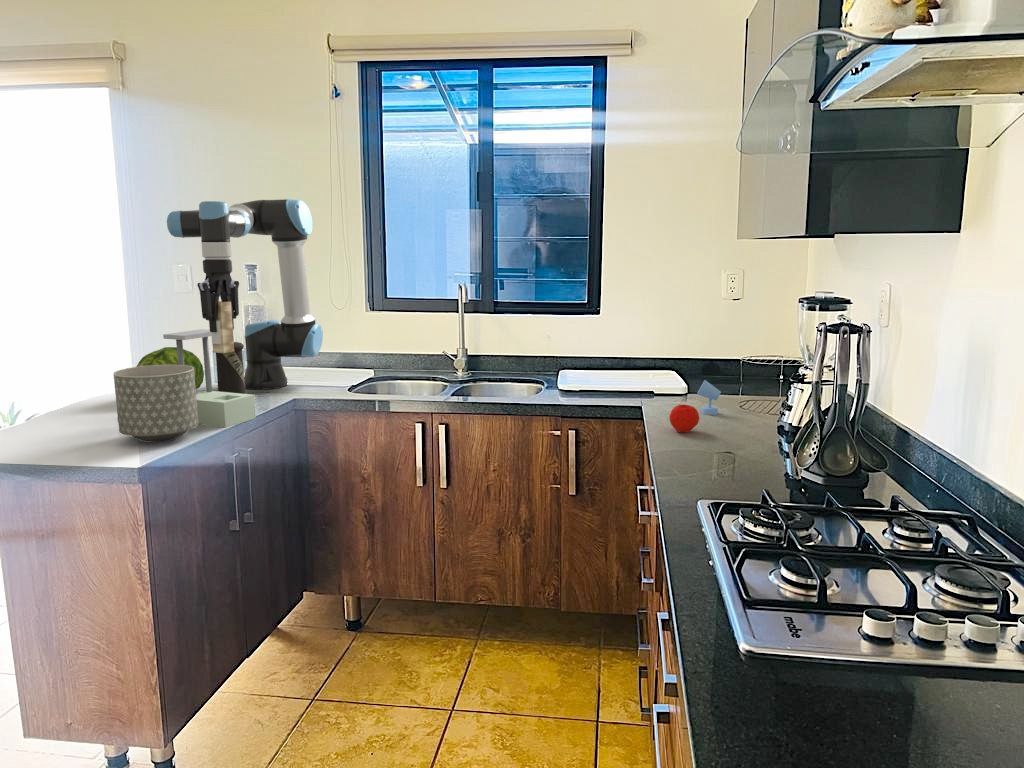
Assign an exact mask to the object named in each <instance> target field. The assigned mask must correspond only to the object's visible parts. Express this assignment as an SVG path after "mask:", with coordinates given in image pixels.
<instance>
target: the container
mask: <svg viewBox="0 0 1024 768" xmlns="http://www.w3.org/2000/svg"><path fill="white" fill-rule="evenodd" d="M244 346H245V345H244V344H243V343H242V342H239V341H237V342H236V341H234V352H228V353H215V361H216V378H217V391H219V392H229V393H240V394H247V393H246V390H247V389H246V388H245V379H244V377H245V370H244V358H243V356H244V355H243V349H244Z"/></svg>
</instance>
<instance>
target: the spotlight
mask: <svg viewBox="0 0 1024 768" xmlns="http://www.w3.org/2000/svg"><path fill="white" fill-rule="evenodd" d="M721 393H722V391H721V390H719V389H718V388H716V387H715V386H714V385H713V384H711V383H710V382H708V381H707V380H706V379H704V380H703V381H702V383H701V385H700V387H699V389H698V391H697V394H696V395H697V396H701V397H703V398H707V399H708V406H707V405H705V406H702V407H701V414H702V415H706V416H716V415H718V412H719V411H718V407H716V406H712V400H713V401H717V400H718V399H719V397H720V395H721Z"/></svg>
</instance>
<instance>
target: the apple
mask: <svg viewBox="0 0 1024 768" xmlns="http://www.w3.org/2000/svg"><path fill="white" fill-rule="evenodd" d="M668 419H669V423H670V425H671V426H672V427H673V429H674V430H675V431H676V432H678V433H682V434H686V433H689V432H691V431H692V430H693V429H694V428H695V427H696V426H697V425H698V424H699V422H700V414H699V412H698V410H697V408H696V407H695V406H692V405H691V404H690V405H689V404H678V405H675V406H674V407H673V408H671V411H670V413H669V418H668Z"/></svg>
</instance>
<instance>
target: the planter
mask: <svg viewBox="0 0 1024 768" xmlns="http://www.w3.org/2000/svg"><path fill="white" fill-rule="evenodd" d="M113 382H114V395H115V403H116V412H117V422H118V431H119V433H120V434H121V435H124V436H131V437H132V438H134V439H136V440H138V441H143V442H147V443H163V442H168V441H172V440H175V439H177V438H179V437H180V438H181V437H182V436H183V435H185V434H186V433H187V432H188V431H190V430H192V429H195V428H196V427H198V425H199V424H198V411H197V399H196V393H197V389H196V386H195V374H194V367H192V366H187V365H150V366H139V367H136V366H133V367H127V368H121V369H119V370H116V371H114V372H113ZM162 441H163V442H162Z"/></svg>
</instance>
